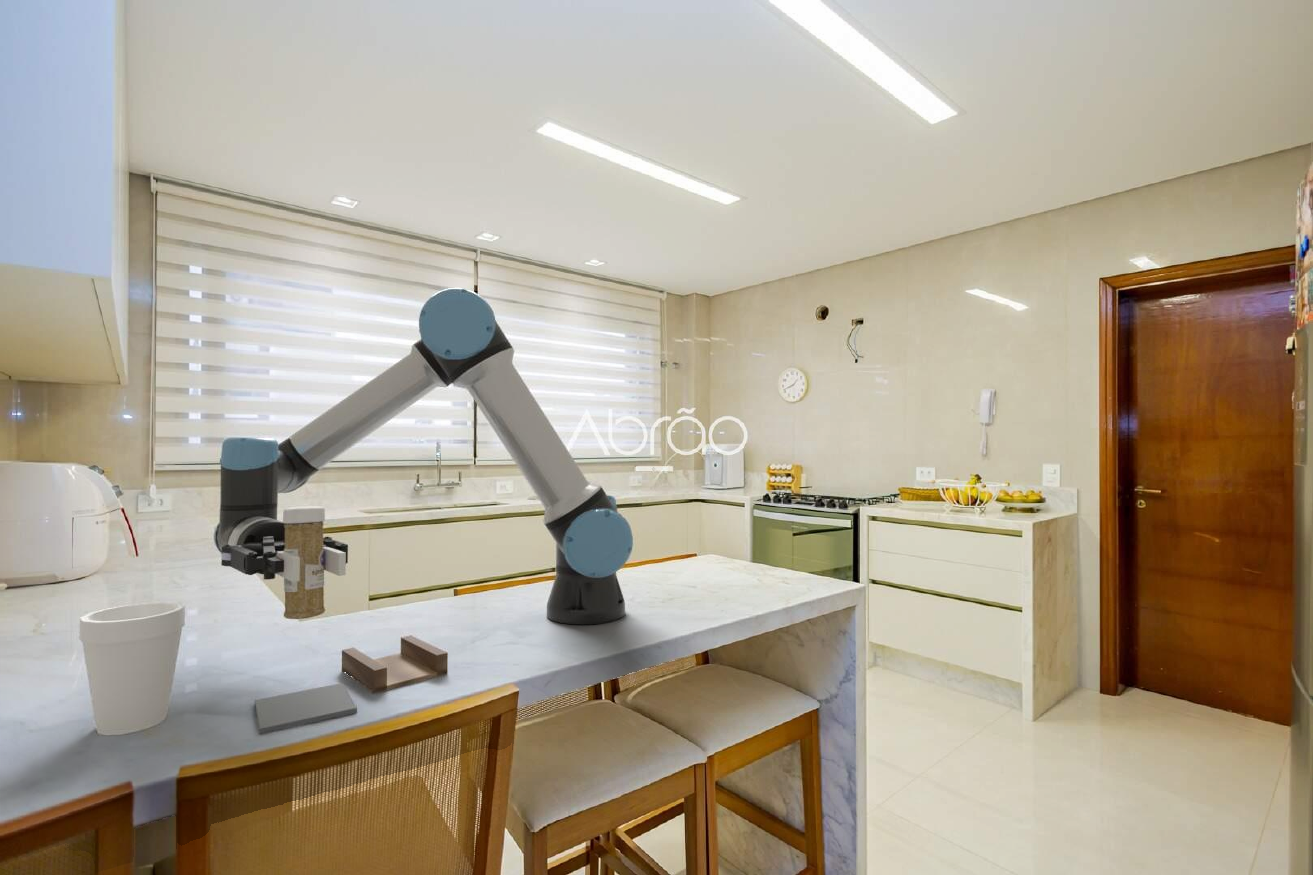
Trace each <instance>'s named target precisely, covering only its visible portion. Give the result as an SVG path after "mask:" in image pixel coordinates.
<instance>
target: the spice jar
mask: <svg viewBox="0 0 1313 875" xmlns="http://www.w3.org/2000/svg"><path fill="white" fill-rule="evenodd" d="M325 512H326V510H325V507H324V506H317V505H314V506H311V505H310V506H294V507H287V508H284V509H283V511H282V513H283V514H282V522H283V523H284V524H285V525H284V527H285V548H284V551H285V552H287V553H290V554H292V555H295V556H297V557H300V581H295V582H292V581H290V580H288V579H286V578H284V577H283V586H284V587H283V590H284V612H283V617H284V618H285V619H289V620H299V619H300V620H303V619H309V618H314V617H318V616H320V615H322V614H324V613H325V612H326V609H325V600H324V599H325V598H324V595H325V594H324V587H325V570H324V550H323V538H324V524H325V523H324V522H325V520H326V515H325V514H326V513H325Z"/></svg>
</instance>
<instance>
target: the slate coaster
mask: <svg viewBox="0 0 1313 875" xmlns="http://www.w3.org/2000/svg"><path fill="white" fill-rule="evenodd" d="M254 705H255V706H254V707H255V713H256V719H257V724H258V730H259V735H261V734H267V733H270V732H276V731H280V730H286V729H289V728H292V727H293V728H294V727H299V726H303V725H306V724H307V725H308V724H312V723H315V722H316V723H317V722H320V721H321V722H322V721H325V719H326V720H330V719H334V718H339V717H343V716H348V715H353V714H357V713H358V707H357V705H356V704H355V702H354V700H353V697H351V695H350V693H349V691H348V689H347V687H346V686H345V684H344V682H341V683H335V684H330V685H324V686H320V687H319V686H318V687H314V688H309V689H305V690H304V689H303V690H299V691H294V692H288V693H283V694H280V695H279V694H278V695H274V696H273V695H272V696H268V697H263V698H258V699H254Z"/></svg>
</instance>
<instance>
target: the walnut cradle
mask: <svg viewBox="0 0 1313 875" xmlns="http://www.w3.org/2000/svg"><path fill="white" fill-rule="evenodd" d="M448 656H449V654H448V652H447V651H444V650H442V649H441V648H438V647H437V646H436V645H432V644H431V643H428V642H426V641H424V640H422V639H419V638H417V637H415V636H413V635H407V636H402V637H400V653H397V654H396V653H395V654H391V655H386V656H384V657H378V658H372V657H370V656H368V655H366V654H365V653H363V652H361V651H360V650H358V649H357V648H355V647H350V648H346V649H342V650H341V671H342V672H343V673H344V672H346V675H347V674H348V675H349V676H348V675H347V676H348V677H350V676H352V677H353V678H354V679H355V680H354V679H353V678H352V679H353V680H354V681H355V682H357V681H358V682H359V683H358V682H357V683H358V684H360V685H362V686H363V687H364V686H365V688H366V689H367V690H368V691H370V690H371V691H370V692H371V693H373V694H374V693H375V694H377V693H381V692H384V691H385V690H386V691H389V690H392V689H396V688H400V686H401V687H403V686H408V685H411V684H414V683H418V682H422V681H427V680H429V679H430V680H431V679H434V678H437V677H441V676H444V675H448V673H449V672H448V669H449V668H448V660H449V659H448ZM388 689H389V690H388ZM386 691H385V692H386Z"/></svg>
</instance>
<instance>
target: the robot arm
mask: <svg viewBox="0 0 1313 875" xmlns="http://www.w3.org/2000/svg"><path fill="white" fill-rule="evenodd" d="M418 327H419V328H418V329H419V331H418V332H419V334H420V339H419V340H417V341H416V342H415V343H413V344H412V345H411V349H410V353H409V354H407V355H406V356H405V357H403V358H402V359H400V360H399V361H398V362H396V363H394V364H393V365H391V366H390V367H389V368H386V370H384V371H383V372H382V373H380V374H379V375H377V376H376V377H374V378H373V379H371V380H370V381H368V382H367V383H366V384H364V385H362V386H361V387H359V388H358V389H357V390H355V391H353V392H352V393H351V394H349V395H348V396H347V397H345V398H344V399H342V400H341V401H339V402H338V403H336V404H335V405H334V406H332V407H331V408H330V409H328V410H326V411H325V412H323V413H322V414H320V415H319V416H318V417H316V418H314V419H313V420H312V421H310V422H309V423H308V424H306V425H304V426H303V427H301V428H300V429H299V430H298V431H296V432H294V433H293V434H291V435H290V436H289V437H287V438H286V439H284V440H283V441H282V442H280V443H279V442H278V441H277V439H275V438H272V437H227V438H226V439H224V440H223V442H222V444H221V445H222V446H221V454H220V459H219V465H220V498H219V499H220V501H219V502H220V505H219V522H218V524H217V525H216V527H215V529H214V531H213V532H214V533H213V542H214V545H215V546H216V549H217V550H218V551H219V553H220V554H221V566H223V567H228V568H229V567H230V568H233V569H235V570H236V571H238V572H240V573H242V574H244V575H248V576H253V575H255V574H256V575H257V574H260V575H263V580H265V581H266V580H274V579H275V578H276V575H278V576H279V577H282V578H283V579H284V578H286V579H288V580H290V581H292V582H295V581H300V557H297V556H295V555H292V554H290V553H287V552H285V551H284V548H285V527H284V525H285V524H284V523H283V521H281V520H278V504H279V503H278V498H279V496H278V495H279V494H287V493H291V492H294V491H297V489H300V488H302V487H303V486H305V484H306V483H307V482H308V480H309V479H310V477H312V476H313V475H315V474H316V473H318V471H320V470H322V469H323V468H324V467H325V466H327V465H328V464H329V463H331V462H332V461H334V460H335V459H337V458H338V457H339V456H342V455H343V454H344V453H345V452H346V451H348V450H349V449H351V448H352V447H354V446H356V444H358V443H360V442H361V441H362V440H363V439H365V438H366V437H368V436H370V435H371V434H372V433H374V432H375V431H376V430H378V429H379V428H381V427H382V426H384V425H385V424H387V423H388V422H389V421H391V420H392V419H393V418H395V417H396V416H398V415H399V414H401V413H402V412H403V411H405V410H406V409H407V408H409V407H411V406H412V405H413V404H415V403H416V402H418V401H419V400H421V399H422V398H424V397H425V396H426V395H428V394H429V393H430V392H432V391H433V390H435V389H436V388H447V387H449V386H451V385H453V386H454V387H458V388H461V389H465V390H467V391H468V393H469V395H470V396H471V397H472V398H473V400H474V402H475V403H476V404H477V406H478V409H479V410H480V411H481V413H482V414H483V416H484V417H485V419H486V420H487V421H488V423H489V425H490V427H491V428H492V430H494V432H495V433H496V435H497V437H498V438H499V440H500V441H501V443H502V445H503V446H504V448H505V450H506V451H507V452H508V454H509V456H511V459H512V460H513V461H514V463H515V464H516V466H517V468H518V470H520V472H521V474H522V476H523V477H524V479H525V480H526V481H527V483H528V485H529V486H530V487H531V489H532V490H533V493H534V494H535V495H536V497H537V498H538V500H539V501H540V503H541V505H542V507H543V508H544V515H543V520H542V522H543V523H542V524H544V525H545V527H546V529H547V530H548V532H549V533H550V535H551V537H552V538H553V540H554V541H555V544H556V545H555V548H556V549H555V564H556V565H555V569H556V570H555V579H554V581H553V584H552V588H551V589H550V593H549V597H548V600H547V603H546V617H547V619H549V620H550V621H553V622H557V623H561V624H567V625H568V624H569V625H595V624H604V623H609V622H613V621H617V620H619V619H622V618H623V617H624V616H625V615H626V600H625V598H624V595H623V591H622V588H621V586H620V582H619V579H618V575H617V572H618V571H620V569H622V568H623V567H624V566H625V564H627V562H628V560H629V558H630V556H631V554H632V552H633V546H634V538H633V533H632V529H631V526H630V524H629V522H628V521H627V519H626V518H625V517H623V515H622V514H621V513H619V512H618V506H617V502H616V501H617V500H616V498H615V497H614V496H613V495H609V494H606V492H605V490H604V489H603V487H602V485H601V484H599V483H595V482H590V481H588V480H587V477H585V475H584V474H583V472H582V471H581V469H580V467H579V465H578V464H577V462H576V461H575V460H574V458H573V456H572V454H571V453H570V452H569V450H568V448H567V447H566V446H565V444H564V442H563V441H562V439H561V437H560V436H559V434H558V433H557V432H556V429H555V428H554V427H553V425H552V423H551V421H550V420H549V418H548V417H547V416H546V414H545V412H544V411H543V409H542V408H541V406H540V405H539V403H538V402H537V400H536V398H535V397H534V395H533V394H532V392H531V391H530V389H529V388H528V386H527V384H526V382H525V381H524V379H523V378H522V377H521V374H520V373H519V372H518V371H517V369H516V368H515V366H514V363H513V360H514V359H513V358H514V355H515V349H514V347H513V345H512V344H511V342H510V341H509V339H508V338H507V336H506V334H505V332H503V330H502V328H501V327H500V325H499V324H498V322H497V321H496V316H495V312H494V311H493V309H492V306H491V305H490V304H489V303H488V302H487V301H486V300H485V299H484V298H483V296H481V295H479V294H478V293H477V292H475V291H472V290H469V289H466V288H460V287H453V288H446V289H442V290H440V291H438V292H436V293H434V294H433V295H432V296H430V297H429V298H428V299H427V300H426V301H425V303H424V304H423V306H422V308H421V311H420V314H419V317H418ZM323 550H324V571H326V572H329V573H331V574H334V575H335V576H339V577H341V576H346V566H347V565H346V564H349V562H348V561H349V544H346V543H344V542H340V541H338V540H335V539H333V537H330V536H325V537H324V536H323Z"/></svg>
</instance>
